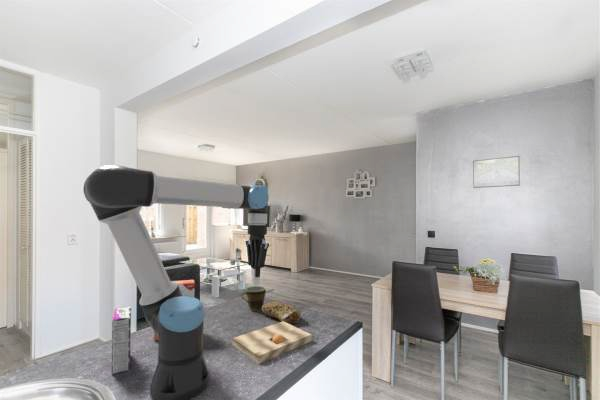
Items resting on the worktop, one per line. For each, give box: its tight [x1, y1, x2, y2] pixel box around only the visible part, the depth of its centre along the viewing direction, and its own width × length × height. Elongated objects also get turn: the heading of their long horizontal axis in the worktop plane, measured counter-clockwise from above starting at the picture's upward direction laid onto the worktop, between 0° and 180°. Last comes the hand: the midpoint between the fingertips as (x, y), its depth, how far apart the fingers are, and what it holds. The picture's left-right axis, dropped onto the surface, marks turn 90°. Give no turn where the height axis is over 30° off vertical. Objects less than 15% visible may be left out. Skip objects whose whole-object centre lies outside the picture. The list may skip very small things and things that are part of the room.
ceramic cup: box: [240, 285, 267, 312], centre depth 142 cm, size 13×10×10 cm
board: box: [231, 321, 313, 365], centre depth 107 cm, size 24×17×2 cm
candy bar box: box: [111, 306, 132, 375], centre depth 92 cm, size 11×5×16 cm, turn 30°
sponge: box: [261, 300, 302, 325], centre depth 132 cm, size 13×8×20 cm
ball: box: [272, 334, 283, 344], centre depth 105 cm, size 4×4×4 cm
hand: (255, 284), depth 112 cm, fingers closed
